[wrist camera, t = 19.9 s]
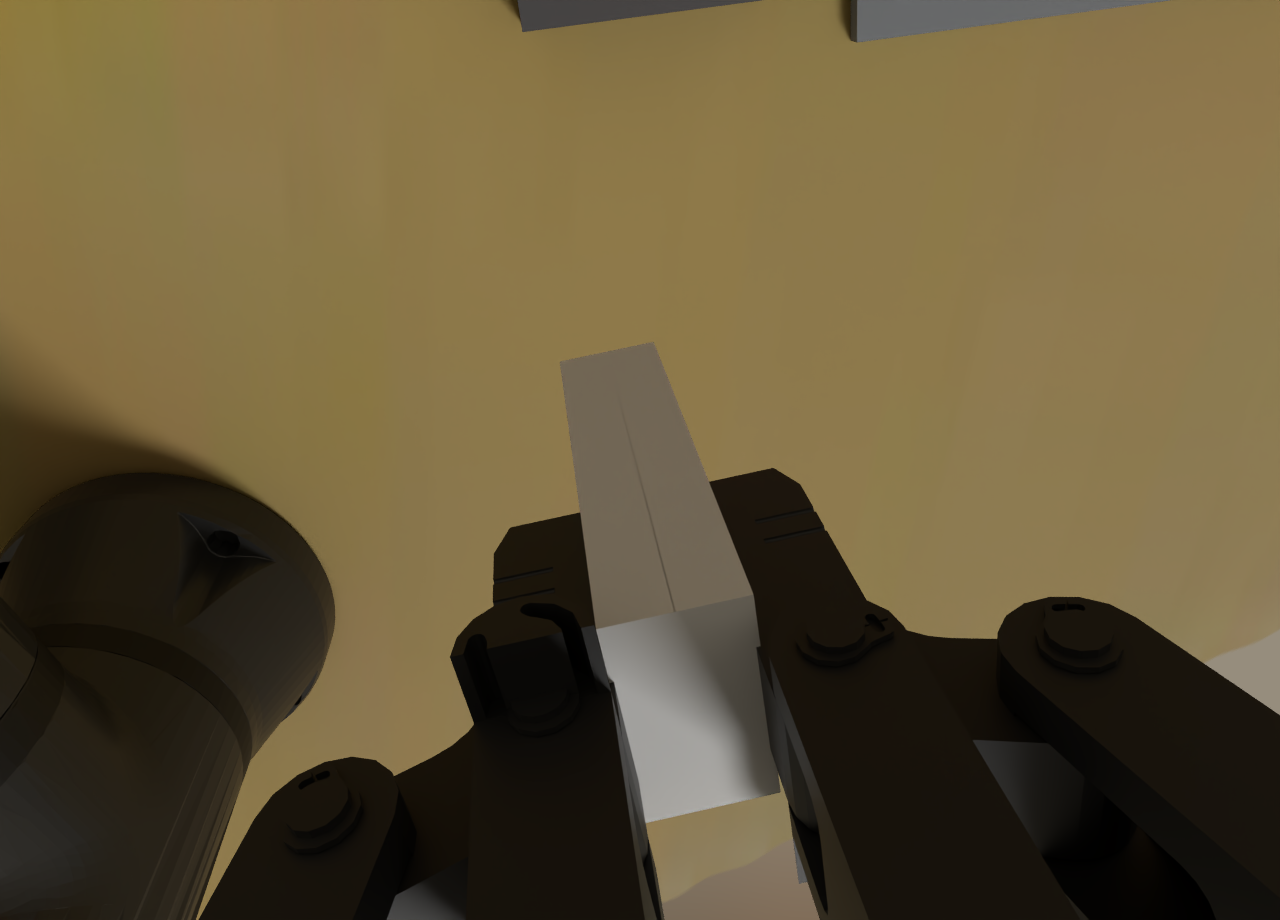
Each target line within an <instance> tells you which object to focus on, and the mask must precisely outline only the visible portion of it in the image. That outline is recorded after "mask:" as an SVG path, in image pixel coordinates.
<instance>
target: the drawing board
mask: <svg viewBox="0 0 1280 920" xmlns="http://www.w3.org/2000/svg"><path fill="white" fill-rule="evenodd" d="M1161 1H1168V0H851V41H854V42H863V41H871V40H878V39H886V38H893V37H900V36H908V35H915V34H923V33H930V32H938V31H945V30H953V29H960V28H967V27H975V26H982V25H990V24H997V23H1005V22H1012V21H1019V20H1027V19H1034V18H1042V17H1049V16H1057V15H1064V14H1072V13H1079V12H1086V11H1094V10H1101V9H1109V8H1116V7H1124V6H1131V5H1139V4H1146V3H1153V2H1161Z"/></svg>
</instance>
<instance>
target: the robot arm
mask: <svg viewBox="0 0 1280 920" xmlns="http://www.w3.org/2000/svg"><path fill="white" fill-rule="evenodd" d="M560 366H561V373H562V381H563V388H564V395H565V403H566V410H567V418H568V425H569V433H570V440H571V447H572V455H573V462H574V470H575V477H576V485H577V492H578V499H579V507H580V513H576V514H571V515H566V516H562V517H557V518H553V519H548V520H543V521H539V522H534V523H529V524H525V525H520V526H516V527H511V528H510V529H509V530H508V532H507V534H506V535H505V537H504V538H503V540H502V542H501V543H500V545H499V546H498V548H497V550H496V551H495V553H494V574H493V580H494V585H493V604H494V606H493V607H492V608H490V609H489V610H487V611H486V612H484V613H483V614H481V615H479V616H478V617H476V618H475V619H473V620H472V621H471V622H470V623H469V625H468V626H467V627H466V628H465V629H464V630H463V631H462V632H461V634H460V635H459V636H458V637H457V639H456V641H455V644H454V647H453V650H452V653H451V656H450V658H451V661H452V664H453V667H454V669H455V672H456V675H457V678H458V680H459V683H460V686H461V689H462V691H463V694H464V697H465V700H466V702H467V705H468V708H469V711H470V713H471V716H472V719H473V722H474V725H473V727H472V728H471V729H470V730H469V732H468V733H466V734H465V735H464V736H463V737H462V738H460V739H459V740H458V741H457V742H456V743H455V744H453V745H452V746H451V747H449V748H447V749H446V750H444V751H442V752H441V753H439V754H437V755H436V756H434V757H432V758H430V759H428V760H426V761H424V762H422V763H420V764H418V765H416V766H414V767H412V768H410V769H408V770H406V771H404V772H402V773H400V774H398V775H396V776H393V773H392V772H391V771H390V770H388V769H387V768H386V767H384V766H383V765H382V764H380V763H379V762H377V761H376V760H371V759H364V758H357V757H349V758H343V759H338V760H333V761H328V762H324V763H322V764H320V765H318V766H316V767H314V768H312V769H309V770H307V771H305V772H303V773H301V774H299V775H297V776H296V777H295V778H293V779H292V780H291V781H290V782H288V783H287V784H286V785H285V786H283V787H282V788H281V789H280V790H278V791H277V792H276V793H275V794H273V795H272V797H271V798H270V799H269V801H268V802H267V803H266V804H265V806H264V807H263V808H262V810H261V811H260V812H259V814H258V815H257V816H256V818H255V819H254V821H253V823H252V824H251V826H250V828H249V830H248V832H247V833H246V835H245V837H244V839H243V841H242V842H241V844H240V846H239V848H238V850H237V851H236V853H235V855H234V857H233V859H232V860H231V862H230V864H229V866H228V868H227V869H226V871H225V873H224V875H223V877H222V878H221V880H220V882H219V884H218V886H217V887H216V889H215V891H214V893H213V895H212V897H211V898H210V900H209V902H208V904H207V906H206V907H205V909H204V911H203V913H202V915H201V916H200V918H199V920H664V914H663V909H662V902H661V896H660V890H659V884H658V878H657V873H656V867H655V863H654V859H653V855H652V851H651V848H650V844H649V840H648V835H647V829H646V823H648V822H652V821H657V820H661V819H665V818H670V817H674V816H679V815H683V814H687V813H692V812H696V811H701V810H705V809H709V808H714V807H718V806H723V805H727V804H731V803H736V802H740V801H744V800H749V799H753V798H758V797H762V796H766V795H771V794H775V793H780V785H779V778H778V773H779V776H780V779H781V782H782V785H783V788H784V791H785V794H786V797H787V800H788V804H789V812H790V819H791V827H792V834H793V841H794V849H795V856H796V864H797V872H798V880H799V883H804V882H808V885H809V888H810V890H811V894H812V897H813V900H814V903H815V906H816V909H817V912H818V915H819V918H820V920H1280V715H1279V714H1277V713H1276V712H1274V711H1273V710H1271V709H1270V708H1268V707H1267V706H1265V705H1264V704H1263V703H1261V702H1260V701H1258V700H1257V699H1255V698H1254V697H1252V696H1251V695H1249V694H1248V693H1246V692H1245V691H1243V690H1242V689H1240V688H1239V687H1237V686H1236V685H1235V684H1233V683H1232V682H1230V681H1229V680H1227V679H1226V678H1224V677H1223V676H1221V675H1220V674H1218V673H1217V672H1215V671H1214V670H1212V669H1211V668H1209V667H1208V666H1207V665H1205V664H1204V663H1202V662H1201V661H1199V660H1198V659H1196V658H1195V657H1193V656H1192V655H1191V654H1189V653H1188V652H1186V651H1185V650H1183V649H1182V648H1180V647H1179V646H1177V645H1176V644H1174V643H1173V642H1171V641H1170V640H1168V639H1167V638H1166V637H1164V636H1163V635H1161V634H1160V633H1158V632H1157V631H1155V630H1154V629H1152V628H1151V627H1149V626H1148V625H1146V624H1145V623H1144V622H1142V621H1141V620H1139V619H1138V618H1136V617H1134V616H1132V615H1130V614H1128V613H1126V612H1124V611H1122V610H1120V609H1118V608H1116V607H1114V606H1112V605H1110V604H1107V603H1102V602H1098V601H1094V600H1090V599H1085V598H1081V597H1048V598H1044V599H1040V600H1036V601H1032V602H1028V603H1024V604H1023V605H1021V606H1020V607H1018V608H1017V609H1015V610H1014V611H1012V612H1011V613H1009V614H1008V615H1006V617H1005V619H1004V621H1003V623H1002V625H1001V627H1000V629H999V631H998V638H997V639H968V638H943V637H933V636H926V635H922V634H919V633H915V632H911V631H907V630H906V629H905V627H904V626H903V625H902V624H901V623H900V622H899V621H898V620H897V619H896V618H895V617H894V616H893V615H892V614H891V612H890V611H888V610H886V609H884V608H882V607H880V606H878V605H875V604H873V603H871V602H869V601H867V600H866V598H865V597H864V595H863V593H862V592H861V590H860V588H859V586H858V585H857V583H856V581H855V579H854V578H853V576H852V574H851V572H850V571H849V569H848V567H847V565H846V564H845V562H844V560H843V558H842V557H841V555H840V553H839V551H838V550H837V548H836V546H835V544H834V543H833V541H832V539H831V537H830V536H829V534H828V532H827V531H825V529H824V525H823V523H822V522H821V520H820V518H819V516H818V515H817V513H816V512H814V509H813V506H812V504H811V502H810V501H809V499H808V497H807V495H806V494H805V492H804V490H803V488H802V487H801V485H800V484H799V483H797V482H796V481H794V480H792V479H791V478H789V477H787V476H786V475H784V474H783V473H781V472H779V471H778V470H776V469H774V468H771V469H766V470H762V471H757V472H752V473H748V474H743V475H739V476H734V477H729V478H725V479H720V480H715V481H711V482H709V481H708V478H707V476H706V473H705V471H704V468H703V466H702V463H701V461H700V458H699V456H698V453H697V451H696V448H695V446H694V443H693V441H692V438H691V435H690V433H689V430H688V428H687V425H686V423H685V420H684V418H683V415H682V413H681V410H680V408H679V405H678V403H677V400H676V398H675V395H674V393H673V390H672V387H671V385H670V382H669V380H668V377H667V375H666V372H665V370H664V367H663V365H662V362H661V360H660V357H659V355H658V352H657V350H656V347H655V345H654V342H651V343H646V344H642V345H637V346H632V347H627V348H623V349H618V350H613V351H608V352H604V353H599V354H594V355H589V356H585V357H580V358H575V359H570V360H566V361H561V362H560ZM334 625H335V605H334V598H333V593H332V590H331V586H330V583H329V580H328V578H327V575H326V573H325V571H324V569H323V567H322V565H321V563H320V562H319V560H318V559H317V557H316V555H315V554H314V553H313V551H312V550H311V548H310V547H309V546H308V545H307V544H306V542H305V541H304V540H303V539H302V538H301V537H300V536H299V535H298V534H297V533H296V532H295V531H294V530H293V529H292V528H291V527H290V526H289V525H288V524H287V523H286V522H284V521H283V520H282V519H280V518H279V517H278V516H277V515H275V514H274V513H272V512H271V511H269V510H268V509H267V508H265V507H263V506H262V505H260V504H258V503H257V502H255V501H253V500H251V499H249V498H247V497H245V496H243V495H241V494H239V493H237V492H234V491H232V490H230V489H227V488H224V487H222V486H219V485H216V484H213V483H209V482H206V481H202V480H198V479H194V478H189V477H184V476H178V475H170V474H159V473H132V474H121V475H114V476H108V477H103V478H99V479H95V480H91V481H88V482H85V483H82V484H80V485H77V486H75V487H73V488H70V489H68V490H66V491H64V492H62V493H60V494H59V495H57V496H56V497H54V498H52V499H51V500H50V501H48V502H47V503H46V504H44V505H43V506H42V507H41V508H40V509H39V510H37V511H36V512H35V513H34V514H33V516H32V517H31V518H30V519H29V520H28V521H27V522H26V523H25V524H24V525H23V527H22V528H21V529H20V530H19V531H18V532H17V533H16V534H15V535H14V536H13V538H12V539H11V540H10V541H9V542H8V543H7V545H6V546H5V548H4V549H3V550H2V552H1V554H0V920H196V917H197V914H198V911H199V908H200V905H201V902H202V899H203V896H204V894H205V891H206V888H207V885H208V882H209V879H210V876H211V873H212V870H213V867H214V864H215V861H216V858H217V855H218V852H219V849H220V846H221V843H222V841H223V838H224V835H225V832H226V829H227V826H228V823H229V820H230V817H231V814H232V811H233V808H234V805H235V802H236V799H237V796H238V793H239V791H240V788H241V785H242V782H243V779H244V777H245V774H246V771H247V768H248V765H249V763H250V760H251V759H252V758H253V757H254V755H255V754H256V753H257V752H258V750H259V749H260V748H261V747H262V745H263V744H264V743H265V741H266V740H267V739H268V738H269V736H270V735H271V734H272V733H273V731H274V730H275V729H276V728H277V726H278V725H279V724H280V723H281V722H282V721H283V720H284V719H286V718H287V717H288V716H289V715H290V714H291V713H293V712H294V710H295V709H296V708H297V707H298V706H299V705H300V704H301V703H302V702H303V701H304V699H305V698H306V697H307V696H308V694H309V693H310V691H311V690H312V688H313V686H314V685H315V683H316V681H317V679H318V677H319V675H320V673H321V671H322V668H323V665H324V662H325V659H326V656H327V653H328V649H329V646H330V643H331V639H332V636H333V631H334Z"/></svg>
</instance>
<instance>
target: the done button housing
mask: <svg viewBox="0 0 1280 920" xmlns="http://www.w3.org/2000/svg"><path fill="white" fill-rule="evenodd" d="M752 1H760V0H518V6H519V13H520V19H521V25H522V31H523V32H526V31H534V30H541V29H549V28H556V27H564V26H571V25H579V24H587V23H594V22H602V21H609V20H617V19H624V18H632V17H639V16H647V15H654V14H662V13H669V12H677V11H685V10H692V9H700V8H707V7H715V6H722V5H730V4H737V3H745V2H752Z"/></svg>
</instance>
